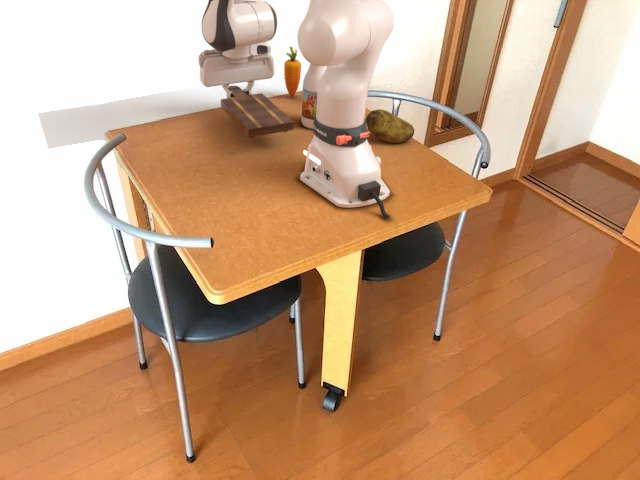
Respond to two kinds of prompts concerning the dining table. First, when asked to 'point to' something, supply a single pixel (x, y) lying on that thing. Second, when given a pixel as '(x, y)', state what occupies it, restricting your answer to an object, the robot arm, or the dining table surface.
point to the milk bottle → (310, 94)
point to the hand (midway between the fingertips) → (238, 97)
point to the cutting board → (255, 113)
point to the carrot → (292, 73)
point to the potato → (389, 126)
